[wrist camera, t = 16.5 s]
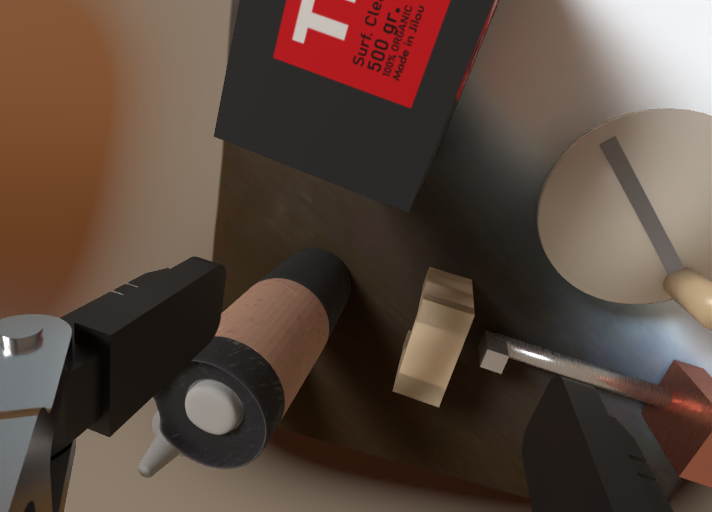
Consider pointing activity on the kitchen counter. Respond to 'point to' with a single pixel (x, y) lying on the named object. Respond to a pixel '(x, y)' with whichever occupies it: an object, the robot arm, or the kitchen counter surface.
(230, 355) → the travel mug
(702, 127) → the handwheel
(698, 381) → the hook rod
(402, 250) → the kitchen counter surface
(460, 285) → the block
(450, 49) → the cleaning product box
